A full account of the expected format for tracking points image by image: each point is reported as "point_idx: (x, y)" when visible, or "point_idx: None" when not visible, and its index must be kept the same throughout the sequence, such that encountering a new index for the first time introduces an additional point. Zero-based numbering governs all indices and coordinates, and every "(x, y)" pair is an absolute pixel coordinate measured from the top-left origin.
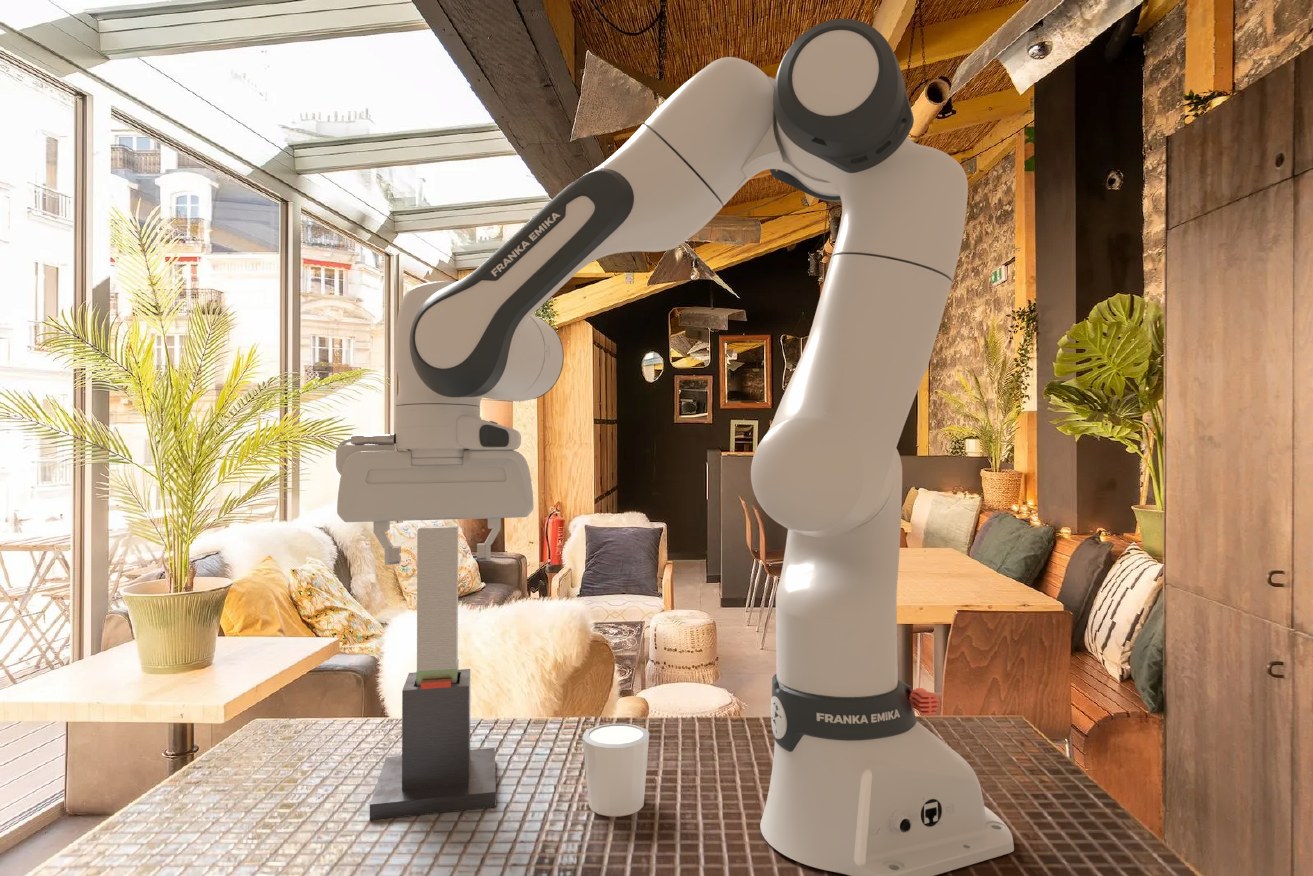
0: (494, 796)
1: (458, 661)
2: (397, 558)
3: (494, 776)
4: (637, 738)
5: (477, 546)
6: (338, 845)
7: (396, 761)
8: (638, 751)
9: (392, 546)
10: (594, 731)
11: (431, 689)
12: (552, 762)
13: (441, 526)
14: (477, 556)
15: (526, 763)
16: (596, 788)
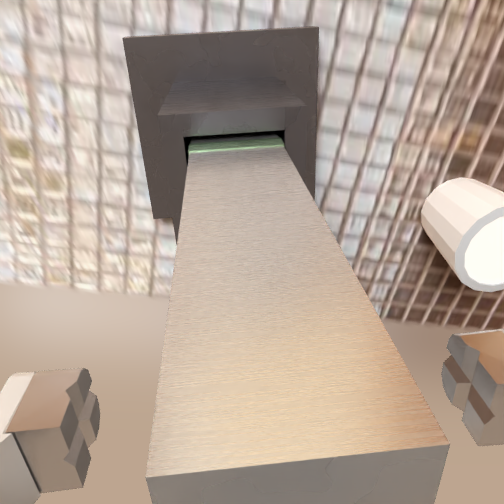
0: None
1: (283, 143)
2: (88, 439)
3: (314, 156)
4: None
5: (477, 440)
6: (138, 261)
7: (148, 63)
8: None
9: (20, 452)
10: (480, 232)
11: None
12: (407, 52)
13: (317, 470)
14: (452, 398)
15: (365, 48)
16: (437, 248)
